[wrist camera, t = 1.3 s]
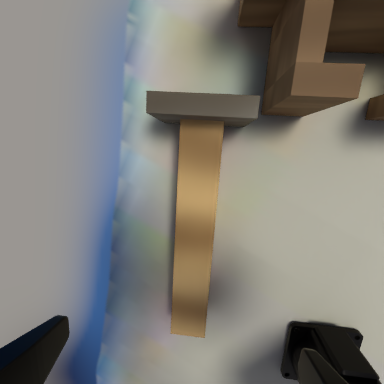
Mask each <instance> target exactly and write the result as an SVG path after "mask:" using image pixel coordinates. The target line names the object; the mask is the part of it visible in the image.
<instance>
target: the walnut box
mask: <svg viewBox="0 0 384 384" xmlns="http://www.w3.org/2000/svg"><path fill="white" fill-rule="evenodd" d="M238 26H241V27H272V34H271V41H270V49H269V57H268V65H267V73H266V80H265V88H264V96H263V104H262V111H261V115H281V116H301V117H303V116H306V115H309V114H312V113H315V112H318V111H321V110H324V109H327V108H330V107H333V106H336V105H339V104H342V103H345V102H348V101H351V100H354V99H357V98H358V96H359V91H360V87H361V82H362V78H363V73H364V69H365V65H366V64H349V63H323V59H324V53H325V52H348V53H384V0H240V6H239V17H238ZM365 120H383V121H384V94H383V95H380V96H377V97H373V98H370V101H369V105H368V110H367V114H366V118H365Z"/></svg>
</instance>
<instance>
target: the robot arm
mask: <svg viewBox="0 0 384 384" xmlns="http://www.w3.org/2000/svg"><path fill="white" fill-rule="evenodd" d="M295 328H296V329H295ZM68 337H69V322H68V317H67V316H60V315H58V316H55V317H53V318H51V319H49V320H48V321H46V322H44V323H43V324H41V325H39V326H38V327H36V328H34V329H32V330H31V331H29V332H27V333H26V334H24V335H22V336H21V337H19V338H17V339H16V340H14V341H12V342H11V343H9V344H7V345H5V346H4V347H2V348H0V384H44V382H45V380H46V379H47V377H48V375H49V373H50V371H51V369H52V368H53V366H54V364H55V362H56V360H57V358H58V357H59V355H60V353H61V351H62V349H63V347H64V345H65V344H66V342H67V340H68ZM362 340H363V336H362V334H361V333H360V332H359V331H358V330H355V329H347V328H339V327H331V326H322V325H314V324H306V323H298V322H293V323H291V324H290V326H289V331H288V336H287V341H286V346H285V351H284V356H283V361H282V366H281V374H282V376H283V377H284V378H286V379H293V380H298V382H299V384H381V382H380V381H379V376H378V374H377V373H376V372H375V370H374V369H373V368H372V366H371V365H370V363H369V362H368V361H367V359H366V358H365V357H364V355H363V354H362V353H361V351H360V347H361V343H362Z"/></svg>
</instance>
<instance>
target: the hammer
mask: <svg viewBox="0 0 384 384" xmlns="http://www.w3.org/2000/svg"><path fill="white" fill-rule="evenodd" d="M259 102H260V96H256V95H232V94H209V93H185V92H161V91H147V104H146V113H148V114H150V115H151V116H153V117H155V118H157V119H159V120H161V121H162V122H164V123H180V138H179V160H178V182H177V205H176V227H175V249H174V271H173V293H172V316H171V334H179V335H186V336H194V337H201V338H205V328H206V317H207V306H208V295H209V284H210V273H211V262H212V251H213V240H214V229H215V218H216V207H217V196H218V185H219V174H220V163H221V152H222V141H223V130H224V126H235V127H244V126H246V125H248V124H249V123H251V122H252V121H254V120H256V119H257V118H258V110H259Z"/></svg>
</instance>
